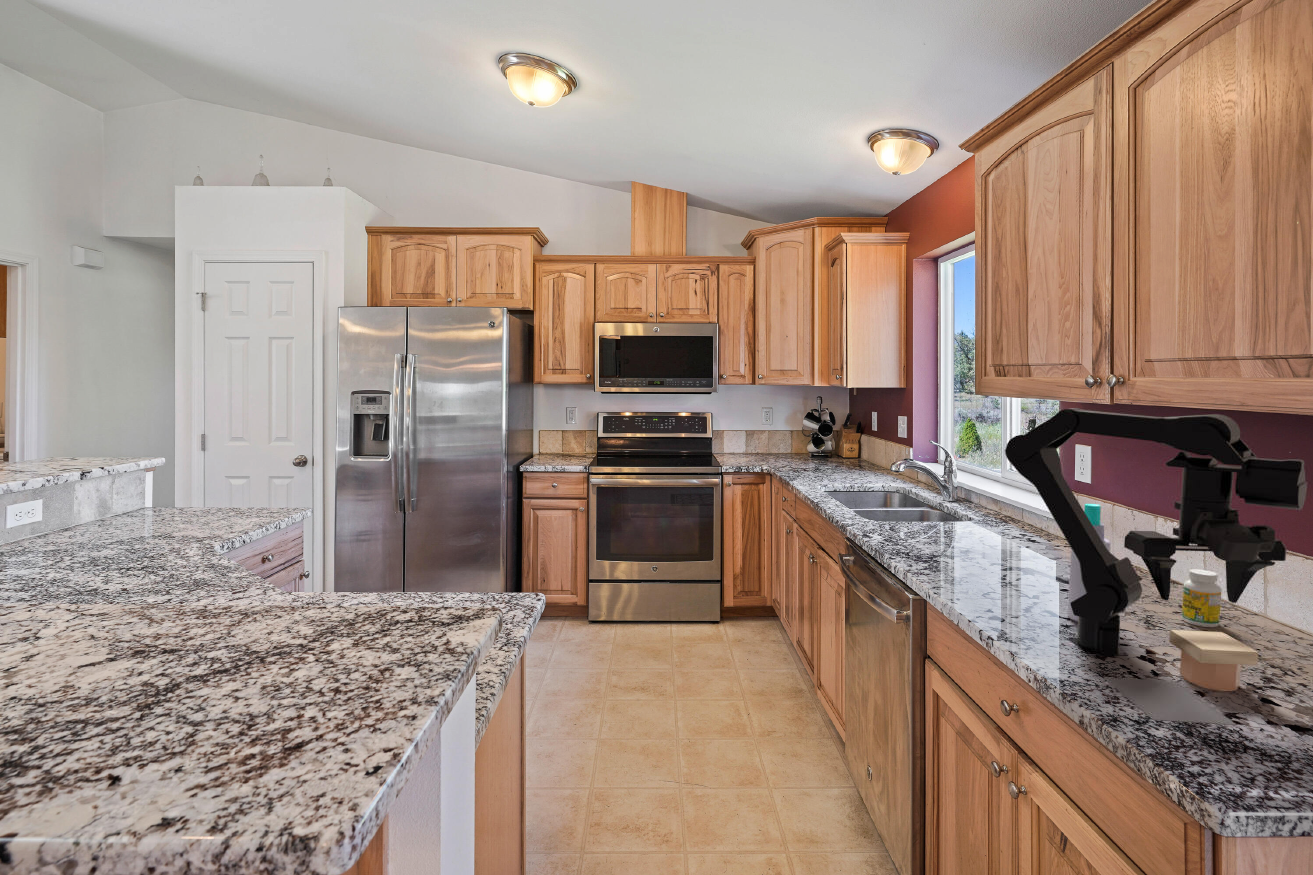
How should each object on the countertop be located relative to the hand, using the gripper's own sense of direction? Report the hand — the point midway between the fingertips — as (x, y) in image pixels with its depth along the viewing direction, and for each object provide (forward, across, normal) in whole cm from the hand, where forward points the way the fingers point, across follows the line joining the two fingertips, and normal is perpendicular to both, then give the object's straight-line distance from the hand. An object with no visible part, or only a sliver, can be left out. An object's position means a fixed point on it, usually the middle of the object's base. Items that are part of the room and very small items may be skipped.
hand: (1198, 600), depth 97 cm
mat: (+12, -9, -9) cm, 17 cm away
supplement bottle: (+12, +16, +24) cm, 31 cm away
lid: (+7, +1, -2) cm, 8 cm away
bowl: (+12, +1, -2) cm, 12 cm away
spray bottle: (+12, -4, +23) cm, 26 cm away
